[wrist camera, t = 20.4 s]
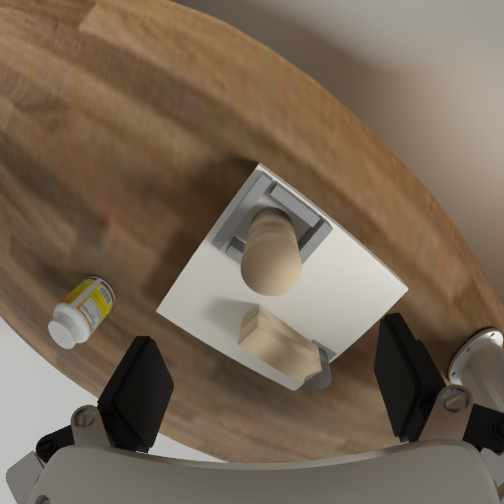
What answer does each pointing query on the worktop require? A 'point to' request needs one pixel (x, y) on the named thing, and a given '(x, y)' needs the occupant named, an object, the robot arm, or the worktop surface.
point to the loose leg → (271, 254)
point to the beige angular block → (284, 349)
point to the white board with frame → (294, 301)
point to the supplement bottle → (81, 312)
